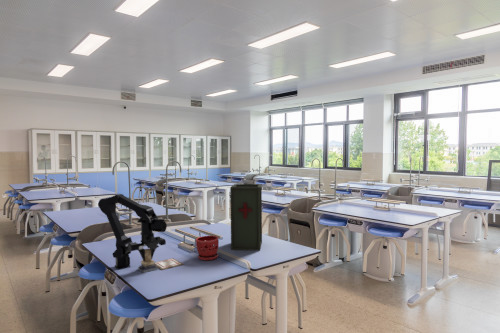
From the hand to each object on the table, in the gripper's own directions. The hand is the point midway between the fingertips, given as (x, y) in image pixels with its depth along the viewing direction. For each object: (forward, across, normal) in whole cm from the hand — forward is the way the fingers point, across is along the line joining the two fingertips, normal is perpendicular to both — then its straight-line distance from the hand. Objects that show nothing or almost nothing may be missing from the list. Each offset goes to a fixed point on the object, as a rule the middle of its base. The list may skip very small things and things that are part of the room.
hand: (147, 259), depth 174 cm
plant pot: (+5, +34, -5) cm, 35 cm away
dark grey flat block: (+5, 0, 0) cm, 5 cm away
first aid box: (+5, +67, -1) cm, 67 cm away
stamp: (+3, 0, 0) cm, 3 cm away
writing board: (+5, +12, 0) cm, 13 cm away
